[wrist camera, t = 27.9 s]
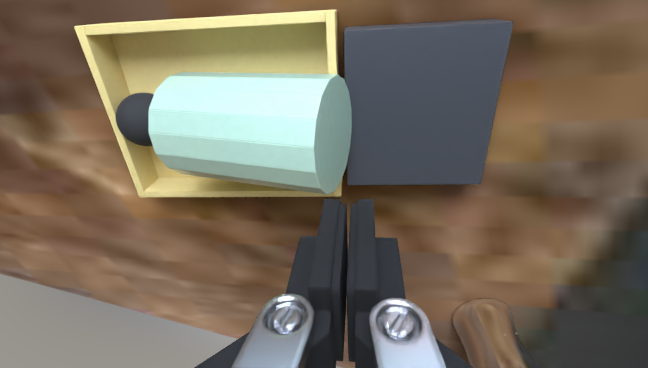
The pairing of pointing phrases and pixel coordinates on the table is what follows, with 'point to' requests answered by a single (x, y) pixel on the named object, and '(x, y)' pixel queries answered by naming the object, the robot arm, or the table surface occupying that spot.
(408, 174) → the stand
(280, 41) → the tray
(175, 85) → the jar
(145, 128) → the ball
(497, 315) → the beer glass
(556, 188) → the table surface
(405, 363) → the robot arm
